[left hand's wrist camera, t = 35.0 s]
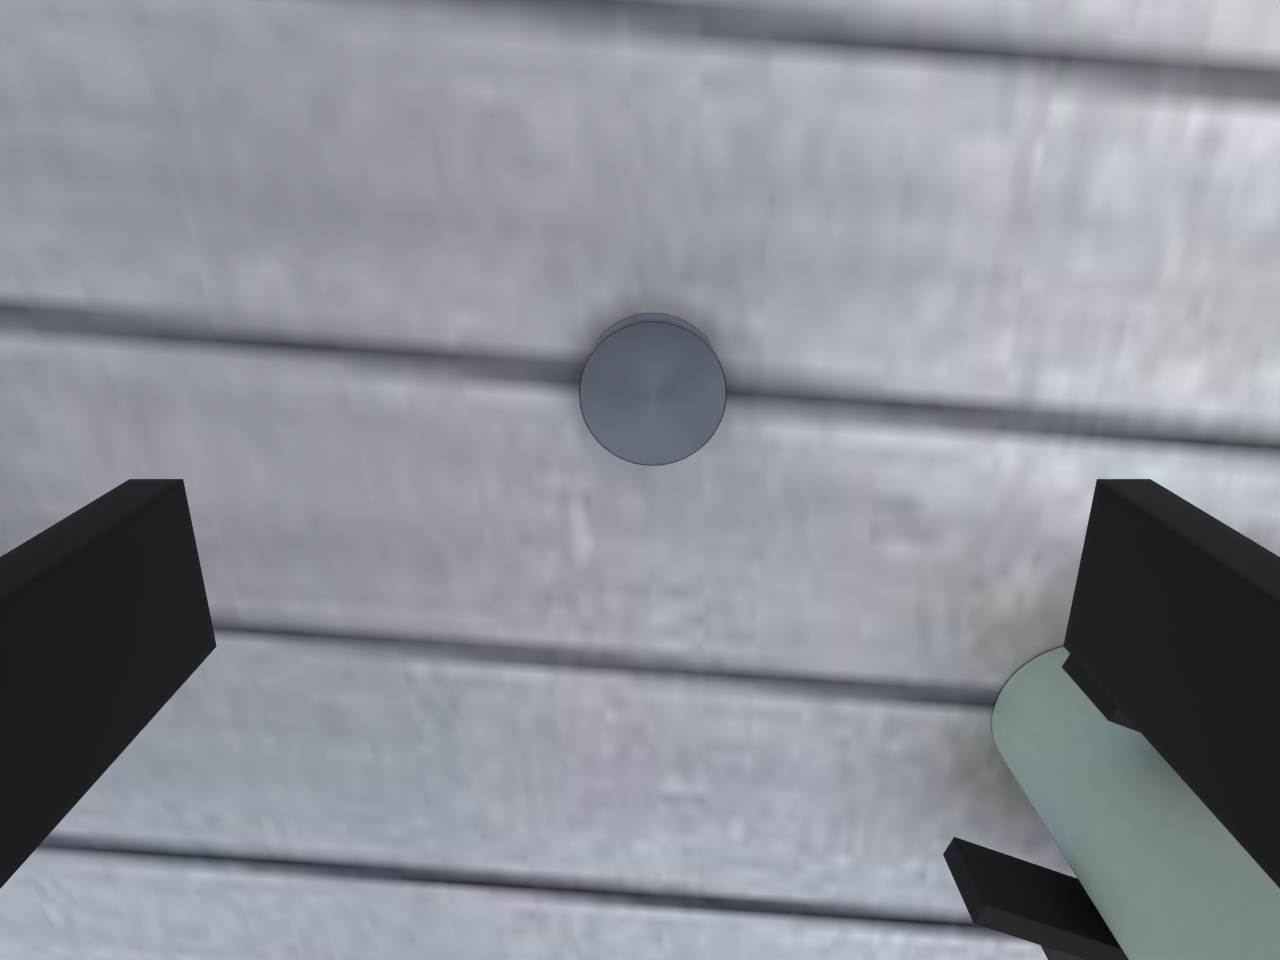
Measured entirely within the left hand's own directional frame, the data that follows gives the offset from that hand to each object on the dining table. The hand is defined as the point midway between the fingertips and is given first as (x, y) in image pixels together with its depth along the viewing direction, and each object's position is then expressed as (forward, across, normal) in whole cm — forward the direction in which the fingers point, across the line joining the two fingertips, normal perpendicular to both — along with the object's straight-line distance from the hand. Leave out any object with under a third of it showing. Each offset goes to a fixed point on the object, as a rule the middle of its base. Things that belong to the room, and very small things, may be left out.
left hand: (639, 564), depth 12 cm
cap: (+14, 0, -1) cm, 14 cm away
